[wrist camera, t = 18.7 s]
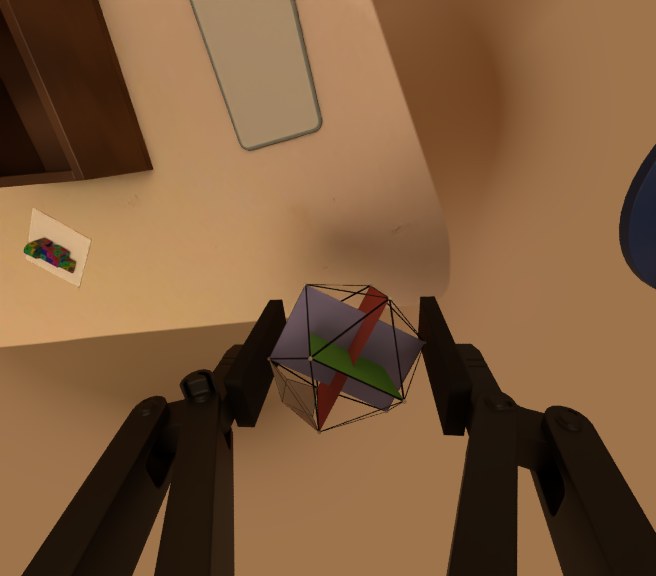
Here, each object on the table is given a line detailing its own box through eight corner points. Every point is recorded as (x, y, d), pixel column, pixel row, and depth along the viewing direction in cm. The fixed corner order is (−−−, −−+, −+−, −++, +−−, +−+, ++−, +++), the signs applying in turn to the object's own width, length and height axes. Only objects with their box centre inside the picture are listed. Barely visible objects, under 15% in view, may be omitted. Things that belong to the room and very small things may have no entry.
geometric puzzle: (335, 220, 13) (250, 402, 9) (467, 288, 14) (433, 481, 10) (302, 281, 19) (244, 403, 16) (393, 325, 20) (357, 451, 17)
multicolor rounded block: (41, 255, 38) (22, 262, 35) (44, 237, 36) (24, 243, 34) (73, 272, 38) (56, 280, 36) (77, 255, 37) (60, 263, 35)
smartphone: (241, 152, 29) (168, -59, 22) (245, 152, 30) (175, -51, 23) (323, 128, 27) (270, -106, 21) (324, 129, 28) (273, -97, 22)
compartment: (153, 169, 31) (84, 180, 24) (50, 178, 33) (-47, 191, 25) (87, -33, 24) (-41, -112, 17) (-39, -8, 26) (-211, -71, 18)
